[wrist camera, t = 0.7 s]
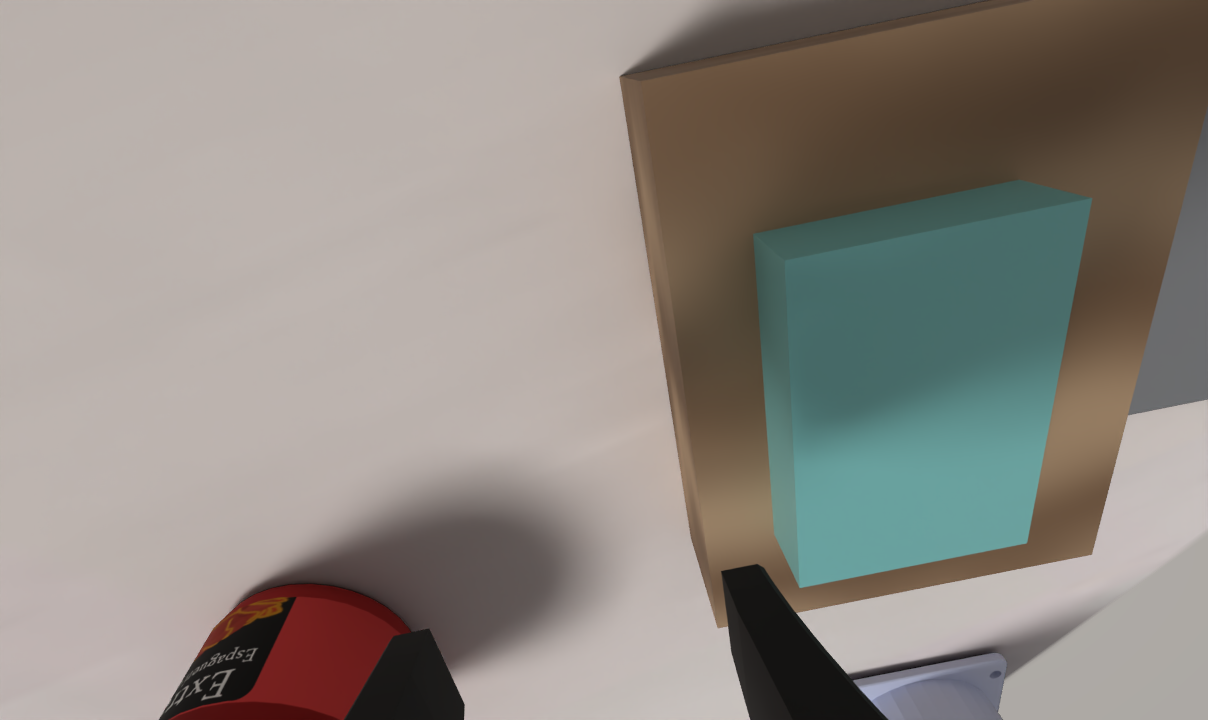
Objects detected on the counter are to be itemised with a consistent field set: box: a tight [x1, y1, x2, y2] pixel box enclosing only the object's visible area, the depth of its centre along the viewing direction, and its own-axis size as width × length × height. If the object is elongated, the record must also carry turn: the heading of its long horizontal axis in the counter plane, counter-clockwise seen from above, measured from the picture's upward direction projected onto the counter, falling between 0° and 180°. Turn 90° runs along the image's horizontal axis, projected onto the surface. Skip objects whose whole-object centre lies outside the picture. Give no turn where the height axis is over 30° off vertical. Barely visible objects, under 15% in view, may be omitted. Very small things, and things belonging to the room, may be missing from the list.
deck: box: [620, 0, 1208, 628], centre depth 17 cm, size 16×12×4 cm
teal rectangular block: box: [753, 180, 1092, 588], centre depth 14 cm, size 9×6×2 cm, turn 11°
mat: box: [1128, 107, 1208, 415], centre depth 18 cm, size 14×9×1 cm, turn 11°
